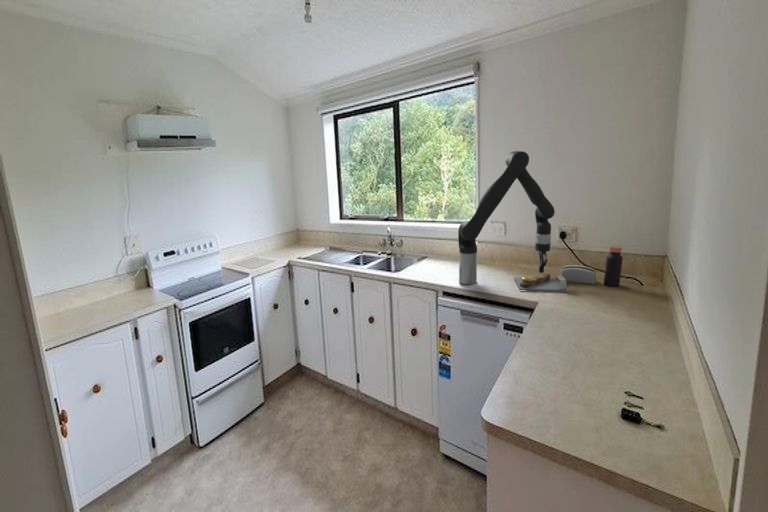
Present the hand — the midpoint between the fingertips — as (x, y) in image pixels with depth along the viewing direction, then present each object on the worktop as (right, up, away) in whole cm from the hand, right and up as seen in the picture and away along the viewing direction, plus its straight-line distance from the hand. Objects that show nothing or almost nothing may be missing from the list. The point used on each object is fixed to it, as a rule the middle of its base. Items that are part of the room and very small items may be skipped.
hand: (541, 272), depth 201 cm
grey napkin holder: (+16, -5, -7) cm, 18 cm away
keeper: (+2, -7, -18) cm, 19 cm away
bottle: (+29, -6, -15) cm, 33 cm away
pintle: (-15, -3, -15) cm, 21 cm away
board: (-6, -6, -11) cm, 14 cm away
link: (-8, -5, -11) cm, 14 cm away
